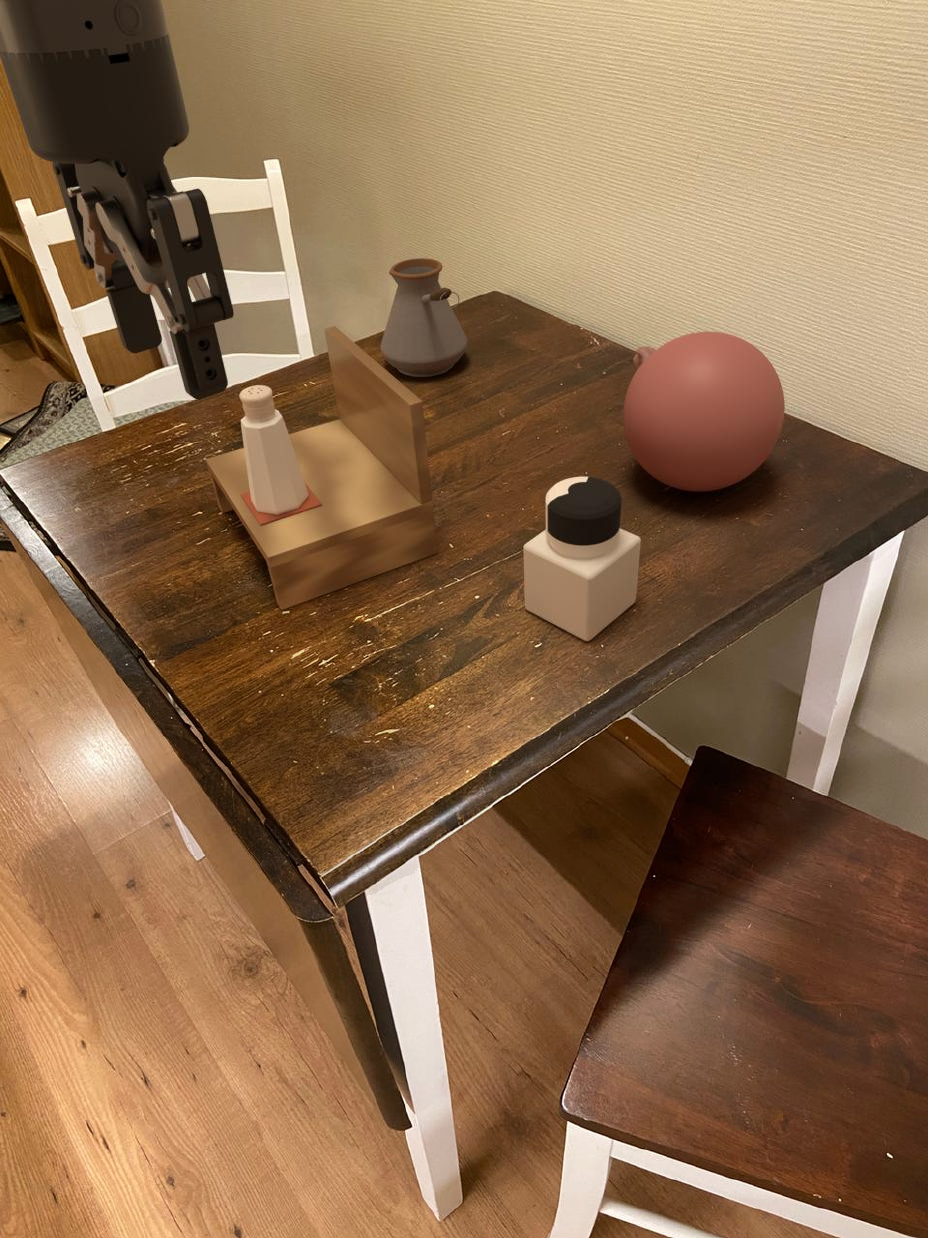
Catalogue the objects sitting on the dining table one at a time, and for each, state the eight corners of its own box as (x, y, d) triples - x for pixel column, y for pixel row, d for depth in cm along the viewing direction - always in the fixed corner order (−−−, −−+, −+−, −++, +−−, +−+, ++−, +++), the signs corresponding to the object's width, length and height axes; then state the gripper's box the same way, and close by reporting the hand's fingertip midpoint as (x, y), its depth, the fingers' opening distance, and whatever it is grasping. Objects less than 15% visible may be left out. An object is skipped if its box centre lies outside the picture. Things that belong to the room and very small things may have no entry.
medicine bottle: (637, 602, 78) (647, 485, 70) (587, 644, 74) (592, 526, 66) (573, 571, 82) (575, 458, 74) (523, 609, 78) (520, 494, 70)
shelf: (281, 610, 80) (241, 455, 70) (219, 508, 94) (178, 366, 83) (437, 553, 85) (422, 400, 75) (357, 464, 99) (334, 325, 89)
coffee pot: (374, 355, 121) (359, 242, 111) (454, 340, 123) (447, 228, 113) (412, 424, 105) (399, 300, 95) (503, 406, 107) (499, 282, 98)
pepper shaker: (311, 481, 85) (289, 374, 78) (306, 513, 81) (283, 402, 73) (255, 486, 85) (228, 379, 78) (247, 517, 81) (218, 407, 73)
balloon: (705, 414, 103) (722, 281, 93) (800, 503, 88) (832, 356, 78) (581, 439, 100) (585, 305, 90) (657, 534, 85) (671, 386, 75)
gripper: (-47, 32, 43) (66, 353, 53) (55, 56, 34) (166, 435, 44) (102, 14, 46) (181, 319, 57) (229, 31, 37) (295, 388, 48)
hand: (175, 369), depth 50 cm, fingers open, 8 cm apart
